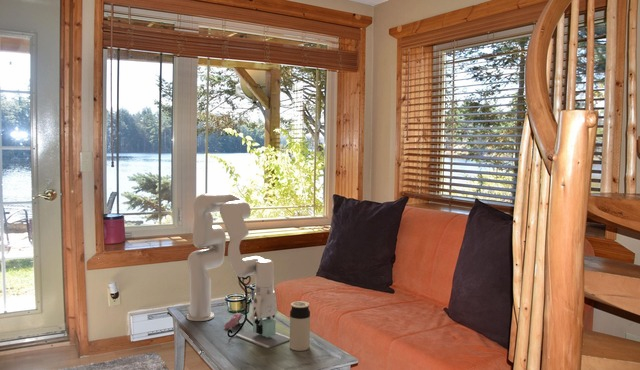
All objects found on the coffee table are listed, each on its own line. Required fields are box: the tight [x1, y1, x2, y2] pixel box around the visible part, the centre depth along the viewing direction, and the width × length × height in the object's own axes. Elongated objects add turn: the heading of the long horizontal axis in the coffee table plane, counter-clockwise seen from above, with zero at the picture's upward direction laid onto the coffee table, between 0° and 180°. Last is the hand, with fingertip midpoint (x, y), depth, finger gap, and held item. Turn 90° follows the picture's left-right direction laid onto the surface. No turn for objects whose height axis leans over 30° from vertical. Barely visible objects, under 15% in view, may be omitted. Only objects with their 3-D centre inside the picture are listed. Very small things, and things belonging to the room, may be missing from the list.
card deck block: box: [252, 317, 277, 337], centre depth 233 cm, size 4×9×6 cm, turn 47°
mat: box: [235, 329, 290, 350], centre depth 234 cm, size 20×14×1 cm
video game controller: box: [224, 312, 244, 330], centre depth 248 cm, size 10×5×7 cm, turn 169°
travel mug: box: [289, 300, 311, 352], centre depth 223 cm, size 8×8×18 cm
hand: (264, 331), depth 233 cm, fingers closed on card deck block, 4 cm apart
